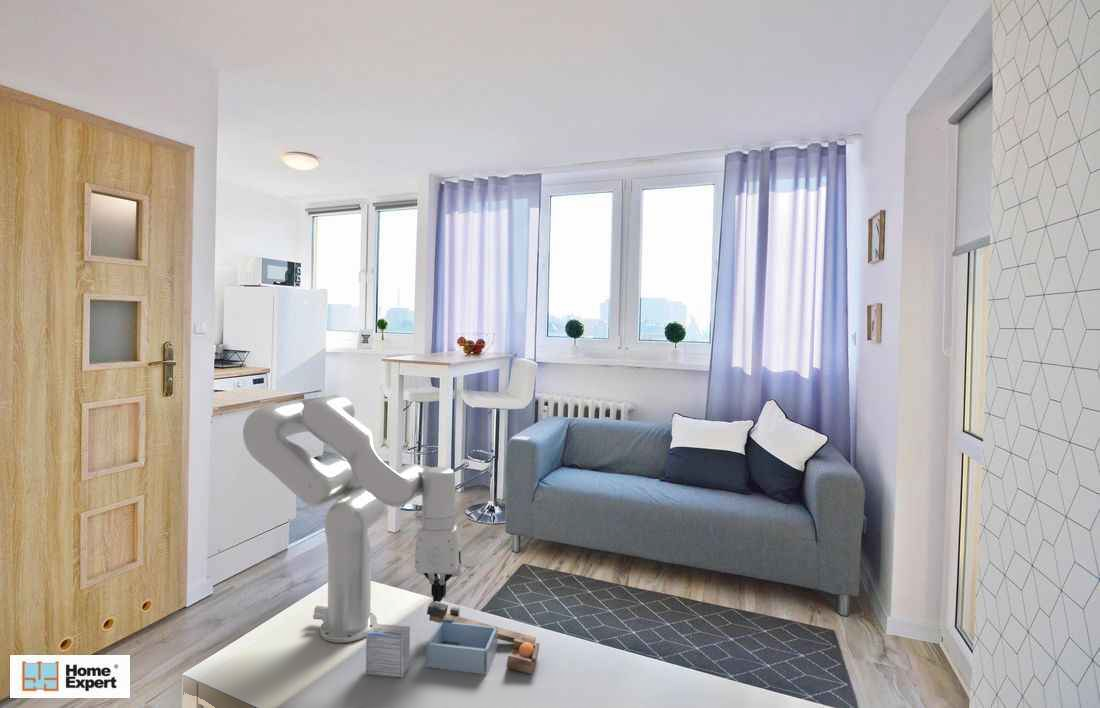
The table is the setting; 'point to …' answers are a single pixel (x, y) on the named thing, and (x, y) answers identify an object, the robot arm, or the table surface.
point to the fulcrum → (449, 620)
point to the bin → (462, 647)
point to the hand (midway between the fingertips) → (438, 598)
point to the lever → (514, 659)
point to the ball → (526, 650)
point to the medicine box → (388, 650)
